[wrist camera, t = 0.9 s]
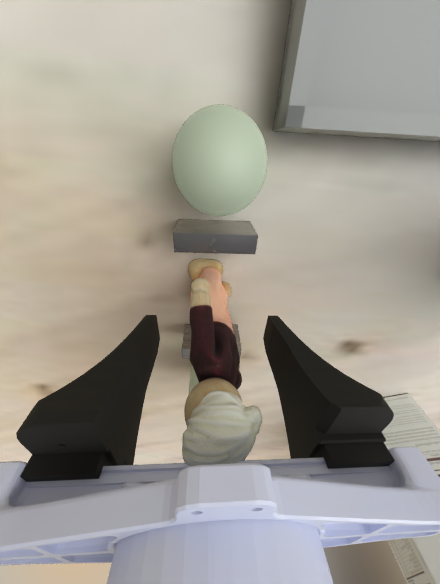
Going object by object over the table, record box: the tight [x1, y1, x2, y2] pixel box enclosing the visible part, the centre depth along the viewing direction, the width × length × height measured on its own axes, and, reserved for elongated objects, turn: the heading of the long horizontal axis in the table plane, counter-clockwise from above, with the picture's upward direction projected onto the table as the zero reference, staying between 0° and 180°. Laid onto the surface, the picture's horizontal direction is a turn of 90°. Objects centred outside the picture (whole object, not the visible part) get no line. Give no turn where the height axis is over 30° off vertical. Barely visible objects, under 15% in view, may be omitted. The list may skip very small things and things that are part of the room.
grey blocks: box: [173, 219, 258, 358], centre depth 17 cm, size 5×11×3 cm, turn 177°
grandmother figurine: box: [182, 259, 262, 466], centre depth 13 cm, size 8×4×13 cm, turn 28°
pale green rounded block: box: [172, 105, 267, 216], centre depth 11 cm, size 4×4×5 cm
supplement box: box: [382, 394, 440, 584], centre depth 25 cm, size 10×9×17 cm
